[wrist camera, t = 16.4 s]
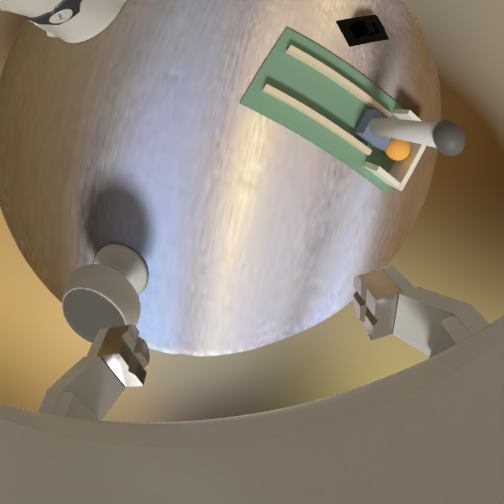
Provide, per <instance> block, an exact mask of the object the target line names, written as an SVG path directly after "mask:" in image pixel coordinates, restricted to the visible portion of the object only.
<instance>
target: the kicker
mask: <svg viewBox="0 0 504 504" xmlns="http://www.w3.org/2000/svg"><path fill="white" fill-rule="evenodd" d="M354 133H355V134H357V135H358V136H359V137H361V138H362V139H363V140H365V141H366V142H367V143H369V144H370V145H371V146H373V147H374V148H376V149H380V150H384V151H385V150H386V148H387V146H388V144H389V142H390V141H391V139H392V138H394V139H399V140H404V141H409V142H414V143H418V144H423V145H427V146H431V147H435V148H438V150H439V151H441V152H442V153H444V154H446V155H450V156H453V155H457V154H459V153H460V152H461V151H462V149H463V147H464V144H465V137H464V134H463V131H462V130H461V128H460V127H459V126H458V125H457V124H456V123H454V122H452V121H448V120H444V121H441V122H439V123H432V122H424V121H415V120H404V119H390V118H386V117H385V116H384V115H383V114H381V113H380V112H379V111H378V110H366V112H365V113H364V115H363V117H362V119H361V120H360V122H359V124H358V126H357V128H356V129H355V131H354Z"/></svg>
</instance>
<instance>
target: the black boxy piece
mask: <svg viewBox="0 0 504 504" xmlns="http://www.w3.org/2000/svg"><path fill="white" fill-rule="evenodd" d="M336 23H337V24H338V26H339V28H340V30H341V32H342V33H343V35H344V37H345V39H346V41H347V43H348V45H349V46H350V47H351V46H355V45H360V44H365V43H370V42H375V41H380V40H386V39H389V38H388V36H387V34H386V32H385V29H384V27H383V25H382V23H381V21H380V20H379V18H378V16H376V15H370V16H363V17H356V18H350V19H345V20H340V21H336Z"/></svg>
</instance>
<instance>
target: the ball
mask: <svg viewBox="0 0 504 504" xmlns="http://www.w3.org/2000/svg"><path fill="white" fill-rule="evenodd" d="M385 153H386V154H387V155H388V157H390V158H391V159H393V160H396V161H400V160H404V159H405V158H407V156H408V155H409V153H410V143H409V141H404V140H399V139H394V138H392V139H391V141H390V142H389V144H388V146H387V148H386V150H385Z"/></svg>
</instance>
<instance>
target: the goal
mask: <svg viewBox="0 0 504 504" xmlns="http://www.w3.org/2000/svg"><path fill="white" fill-rule="evenodd" d="M286 53H288V54H289V55H291V56H293V57H295V58H297V59H298V60H300V61H302V62H304V63H305V64H307V65H309V66H311V67H312V68H314V69H315V70H317V71H319V72H320V73H322V74H324V75H325V76H327V77H328V78H330V79H331V80H333V81H334V82H336V83H337V84H339V85H340V86H342V87H343V88H345V89H346V90H347V91H349V92H350V93H352V94H353V95H354V96H356V97H357V98H358V99H360V100H361V101H362V102H364V103H365V104H366V105H368V106H369V107H370V108H372V109H373V110H378V111H379V112H380V113H381V114H383V115H384V116H385V117H386V118H390V117H391V115H392V114H393V115H395V116H396V117H397V118H398V119H404V120H415V121H421V120H420V119H419V118H418V117H417V116H416V115H415V114H414V113H413V112H412V111H411V110H403V109H394V111H393V113H392V114H391V113H390V112H389V111H387V110H386V109H385V108H384V107H383V106H381V105H380V104H379V103H378V102H376V101H375V100H374V99H373V98H371V97H370V96H369V95H368V94H366V93H365V92H364V91H362V90H361V89H360V88H358V87H357V86H356V85H354V84H353V83H351V82H350V81H349V80H347V79H346V78H344V77H343V76H341V75H340V74H339V73H337V72H336V71H334V70H333V69H331V68H329V67H328V66H326V65H325V64H323V63H322V62H320V61H318V60H317V59H315V58H313V57H312V56H310V55H308V54H307V53H305V52H303V51H301V50H300V49H298V48H296V47H294V46H292V45H290V46H289V48H288V49H287V51H286ZM262 91H264V92H266V93H268V94H270V95H271V96H273V97H275V98H277V99H279V100H281V101H283V102H284V103H286V104H288V105H290V106H292V107H293V108H295V109H297V110H299V111H300V112H302V113H304V114H305V115H307V116H309V117H310V118H312V119H313V120H315V121H317V122H318V123H320V124H321V125H323V126H325V127H326V128H328V129H329V130H331V131H332V132H334V133H335V134H337V135H338V136H340V137H341V138H343V139H344V140H346V141H347V142H348V143H350V144H351V145H353V146H354V147H356V148H357V149H358V150H360V151H361V152H362V153H364V154H367V155H370V154H371V152H372V150H371V149H369V148H368V147H367V146H365V145H364V144H363V143H361V142H360V141H359V140H357V139H356V138H355V137H353V136H352V135H350V134H349V133H348V132H346V131H345V130H343V129H342V128H340V127H339V126H337V125H336V124H334V123H333V122H331V121H330V120H328V119H327V118H325V117H324V116H322V115H321V114H319V113H317V112H316V111H314V110H313V109H311V108H309V107H308V106H306V105H304V104H303V103H301V102H299V101H297V100H296V99H294V98H292V97H290V96H289V95H287V94H285V93H283V92H281V91H280V90H278V89H276V88H274V87H272V86H270V85H268V84H266V85H265V86H264V88H263V90H262ZM409 143H410V153H409V155H408V156H407V158H405V159H404V160H400V161H395V163H394V164H393V166H392V168H391V170H390V171H389V173H387V172H386V171H385V170H384V169H382V168H381V167H380V166H377V165H375V164H372V163H369V162H365V163H364V165H363V166H364V167H365V168H366V169H368V170H369V171H371V172H372V173H373V174H375V175H376V176H377V177H378V178H380V179H381V180H382V181H384V182H385V183H386V184H388V185H390V186H392V187H394V188H396V189H398V190H400V191H402V190H403V188H404V186H405V184H406V183H407V181H408V179H409V177H410V176H411V174H412V172H413V170H414V168H415V166H416V165H417V163H418V161H419V159H420V157H421V155H422V153H423V151H424V149H425V147H426V145H423V144H418V143H414V142H409Z"/></svg>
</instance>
